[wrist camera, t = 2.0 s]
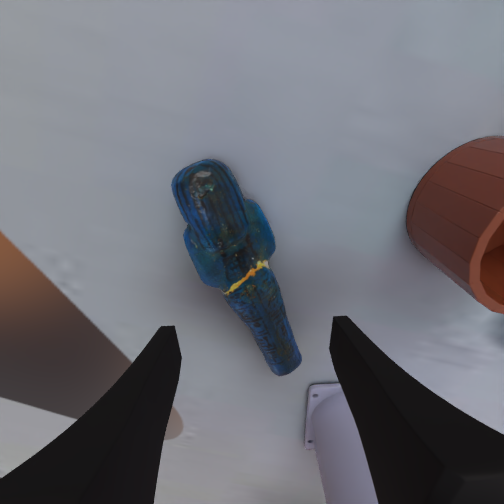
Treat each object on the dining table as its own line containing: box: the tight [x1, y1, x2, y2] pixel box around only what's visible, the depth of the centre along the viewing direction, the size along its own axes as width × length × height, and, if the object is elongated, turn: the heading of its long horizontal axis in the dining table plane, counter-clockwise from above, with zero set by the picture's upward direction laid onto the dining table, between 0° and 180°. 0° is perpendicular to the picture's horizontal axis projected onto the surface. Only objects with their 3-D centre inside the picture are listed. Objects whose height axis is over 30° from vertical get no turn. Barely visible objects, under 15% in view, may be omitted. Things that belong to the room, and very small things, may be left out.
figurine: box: [171, 159, 302, 376], centre depth 17 cm, size 5×4×15 cm
